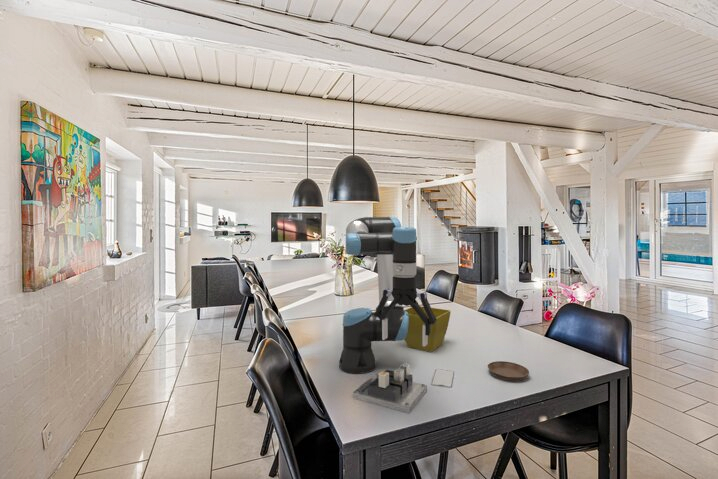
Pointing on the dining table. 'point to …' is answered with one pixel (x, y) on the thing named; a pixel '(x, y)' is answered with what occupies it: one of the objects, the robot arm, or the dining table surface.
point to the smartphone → (443, 378)
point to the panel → (391, 403)
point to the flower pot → (437, 329)
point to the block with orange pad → (383, 379)
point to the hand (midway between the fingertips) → (404, 342)
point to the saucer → (508, 370)
